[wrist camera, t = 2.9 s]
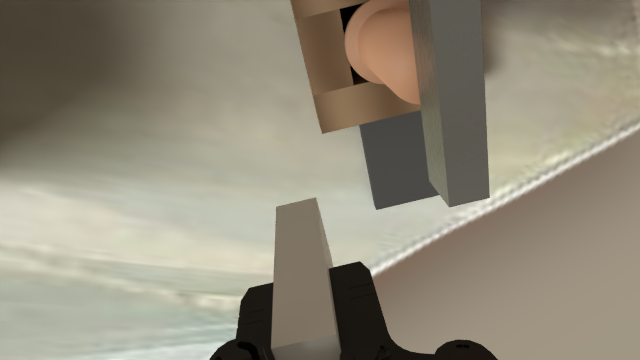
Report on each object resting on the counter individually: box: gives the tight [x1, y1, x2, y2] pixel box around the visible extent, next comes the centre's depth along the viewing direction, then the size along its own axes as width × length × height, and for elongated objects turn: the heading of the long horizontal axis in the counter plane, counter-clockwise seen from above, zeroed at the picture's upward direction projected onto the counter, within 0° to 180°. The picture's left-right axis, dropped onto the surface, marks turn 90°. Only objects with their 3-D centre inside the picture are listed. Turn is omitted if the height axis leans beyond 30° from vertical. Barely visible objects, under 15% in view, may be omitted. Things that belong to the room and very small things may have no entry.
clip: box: [408, 0, 490, 207], centre depth 18 cm, size 4×16×3 cm, turn 13°
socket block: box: [290, 0, 421, 134], centre depth 26 cm, size 12×16×15 cm
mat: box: [359, 110, 440, 210], centre depth 39 cm, size 9×9×1 cm
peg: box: [344, 0, 420, 105], centre depth 28 cm, size 6×6×14 cm
